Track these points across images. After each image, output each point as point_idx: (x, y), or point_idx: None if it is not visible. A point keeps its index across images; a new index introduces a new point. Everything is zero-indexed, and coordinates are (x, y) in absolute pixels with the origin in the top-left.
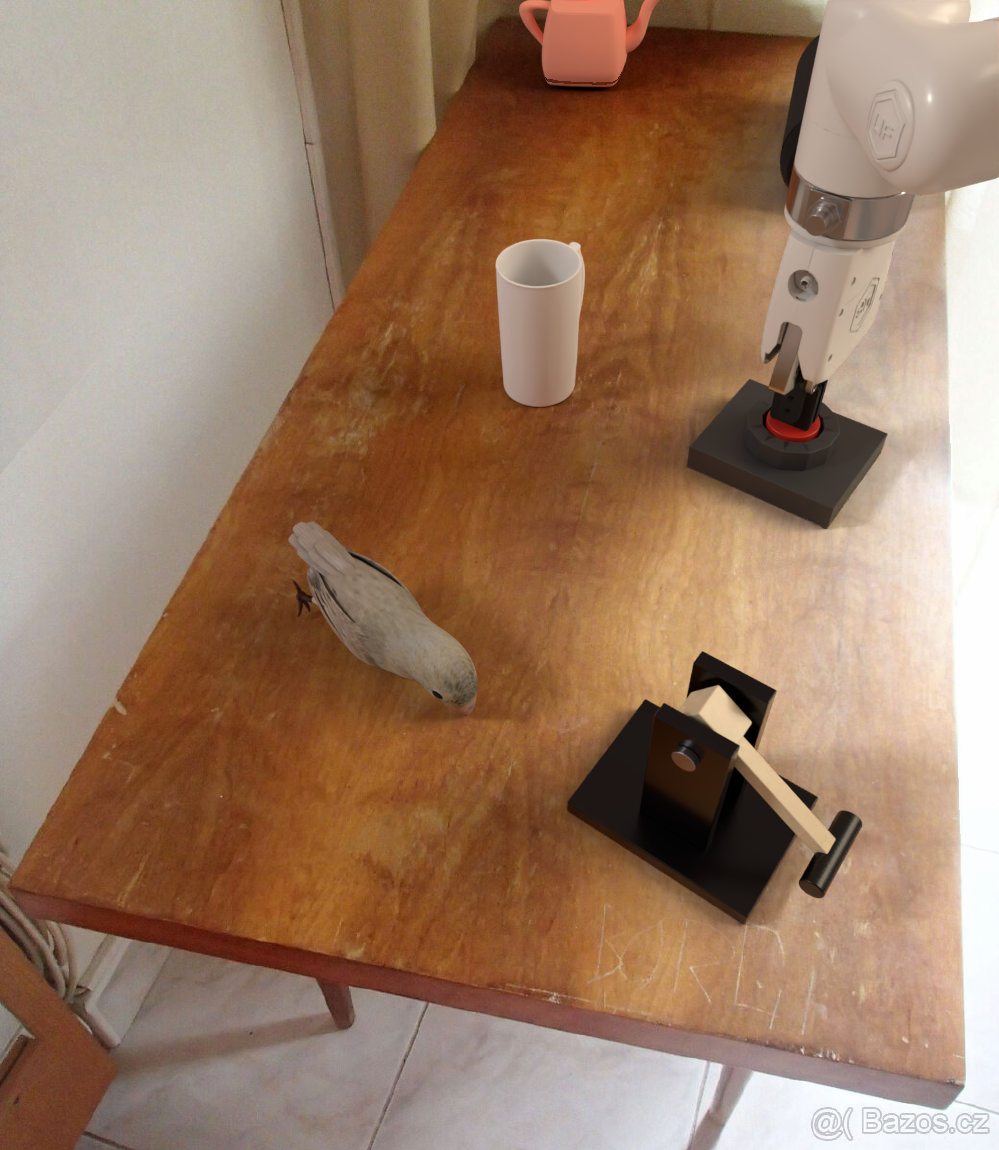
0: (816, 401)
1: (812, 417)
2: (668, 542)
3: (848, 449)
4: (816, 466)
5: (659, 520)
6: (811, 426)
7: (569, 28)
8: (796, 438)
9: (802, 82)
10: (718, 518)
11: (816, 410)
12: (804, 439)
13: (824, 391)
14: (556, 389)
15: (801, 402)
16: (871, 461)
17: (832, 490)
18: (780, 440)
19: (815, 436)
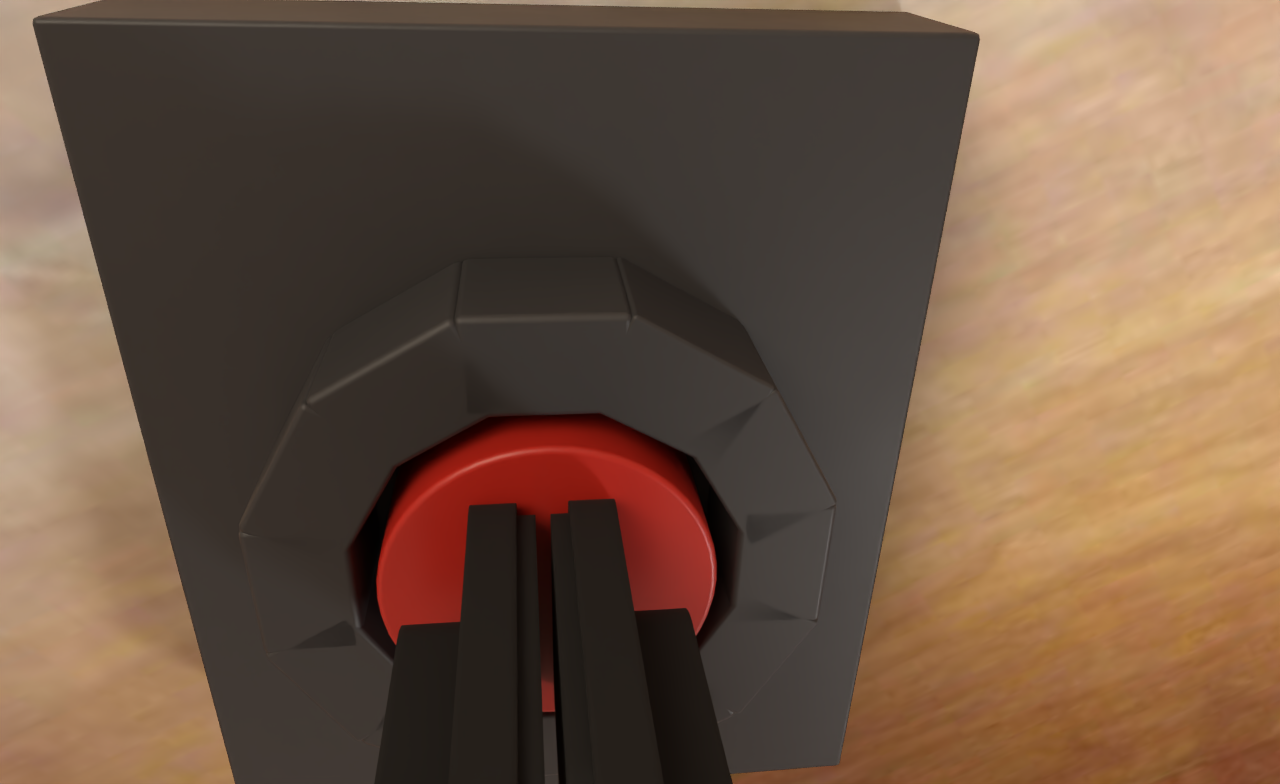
0: (634, 687)
1: (604, 563)
2: (1220, 529)
3: (397, 188)
4: (668, 283)
5: (1119, 602)
6: (544, 493)
7: None
8: (693, 507)
9: None
10: (1032, 455)
11: (519, 578)
12: (660, 465)
13: (464, 699)
14: None
15: (722, 755)
16: (313, 10)
17: (823, 111)
18: (747, 560)
19: (561, 422)
